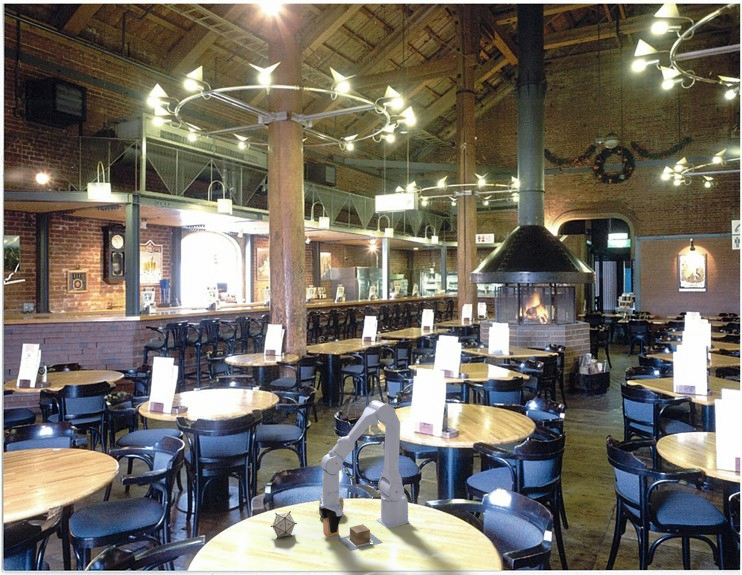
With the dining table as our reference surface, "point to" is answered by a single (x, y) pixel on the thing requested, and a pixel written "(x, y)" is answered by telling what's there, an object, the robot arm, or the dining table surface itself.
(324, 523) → the terracotta block
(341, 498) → the grey cylinder
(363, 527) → the walnut block
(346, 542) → the mat
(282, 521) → the game die
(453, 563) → the dining table surface
